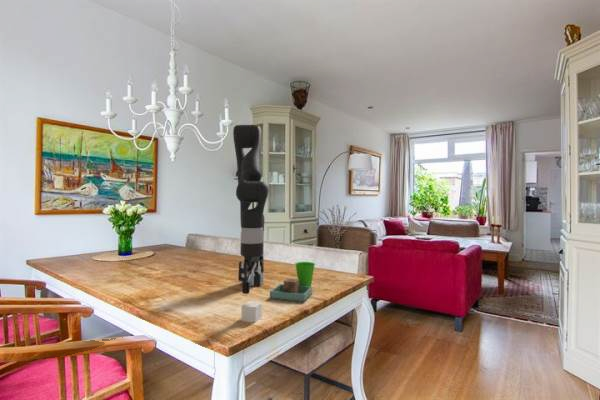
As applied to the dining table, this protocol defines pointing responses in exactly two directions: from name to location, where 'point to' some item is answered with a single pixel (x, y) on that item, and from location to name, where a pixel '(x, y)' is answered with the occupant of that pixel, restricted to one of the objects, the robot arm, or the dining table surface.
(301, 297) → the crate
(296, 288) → the walnut block
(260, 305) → the cream box
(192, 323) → the dining table surface
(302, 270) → the cup
